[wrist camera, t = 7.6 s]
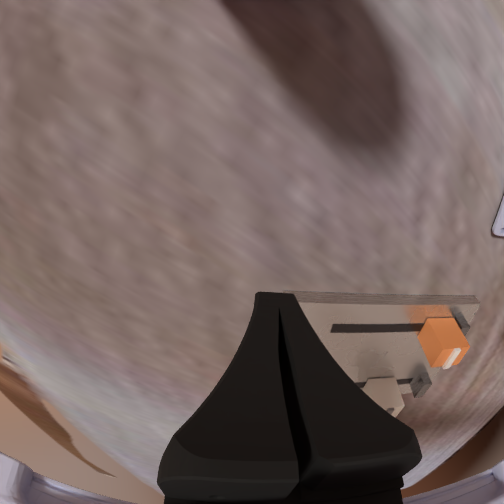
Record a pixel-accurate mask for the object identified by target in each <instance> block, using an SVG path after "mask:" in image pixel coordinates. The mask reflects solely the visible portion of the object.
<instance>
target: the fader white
mask: <svg viewBox="0 0 504 504" xmlns="http://www.w3.org/2000/svg"><path fill="white" fill-rule="evenodd" d="M362 390H363V391H364V392H365V393H366V394H367V395H368V396H369V397H370V398H371V399H372V400H373V401H374V402H376V403H377V404H378V405H379V406H380V407H382V408H383V409H384V410H385V411H387V412H388V413H389V414H391V415H392V416H393V417H396V416H397V415H398V414H399V412H400V411H401V410H402V409H403V408H404V406H405V405H404V402H403V399H402V396H401V393H400V390H399V387H398V384H397V381H396V378H395V377H391V378H378V379H368V381H367V382H366V384H365V386H364V387H363V389H362Z"/></svg>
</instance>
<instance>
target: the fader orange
mask: <svg viewBox="0 0 504 504" xmlns="http://www.w3.org/2000/svg"><path fill="white" fill-rule="evenodd" d="M417 338H418V340H419V342H420V344H421V346H422V349H423V351H424V353H425V355H426V358H427V360H428V362H429V364H430V367H431V368H433V367H443V369H448V368H449V367H450V366H451V365H457V364H458V363H459V362H460V361H461V359H462V358H463V356H464V355H465V353H466V352H467V350H468V349H469V347H470V346H469V344H468V342H467V340H466V338H465V337H464V335H463V333H462V331H461V330H460V328H459V326H458V324H457V323H456V321H455V319H454V318H429V319H427V320H426V322H425V324H424V326H423V328H422V329H421V331H420V333H419V335H418V337H417Z"/></svg>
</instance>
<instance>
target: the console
mask: <svg viewBox="0 0 504 504" xmlns="http://www.w3.org/2000/svg"><path fill="white" fill-rule="evenodd" d="M283 293H293V294H294V295H295V296H296V299H297V301H298V303H299V305H300V307H301V308H302V310H303V312H304V314H305V316H306V317H307V319H308V321H309V323H310V324H311V326H312V328H313V329H314V331H315V332H316V334H317V335H318V337H319V339H320V340H321V342H322V343H323V344H324V346H325V347H326V349H327V350H328V351H329V353H330V354H331V356H332V357H333V358H334V359H335V361H336V362H337V363H338V364H339V366H340V367H341V368H342V369H343V370H344V372H345V373H346V374H347V375H348V376H349V377H350V378H351V379H352V380H353V381H354V382H355V384H356V385H357V386H358V387H359V388H360V389H363V387H364V386H365V384H366V382H367V381H368V379H378V378H391V377H395V378H396V381H397V384H398V387H399V390H400V393H401V394H406V393H413V395H414V398H417V397H422V396H423V395H424V394H425V392H426V391H427V390H428V388H429V387H430V386H431V385H432V382H431V381H432V379H433V378H434V377H435V375H436V374H437V373H438V371H439V370H440V368H441V367H433V368H431V367H430V364H429V362H428V360H427V358H426V355H425V353H424V351H423V349H422V346H421V344H420V342H419V340H418V338H417V337H418V335H419V333H420V331H421V329H422V328H423V326H424V324H425V322H426V320H427V319H429V318H454V319H455V321H456V323H457V324H458V326H459V328H460V330H461V331H462V333H463V335H464V337H465V335H466V334H467V332H468V330H469V329H470V326H469V324H470V322H471V320H472V319H473V317H474V315H475V313H476V312H477V310H478V308H479V306H480V305H481V304H480V302H479V301H478V299H477V298H476V297H475V296H432V295H379V294H347V293H321V292H299V291H283Z"/></svg>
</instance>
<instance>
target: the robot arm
mask: <svg viewBox="0 0 504 504" xmlns="http://www.w3.org/2000/svg"><path fill="white" fill-rule="evenodd" d="M492 232H493V233H494V234H495V235H498V236H504V196H503V199H502V202H501V205H500V208H499V211H498V214H497V216H496V219H495V222H494V225H493V227H492ZM421 459H422V454H421V450H420V446H419V443H418V440H417V438H416V435H415V433H414V430H413V429H411V428H410V427H408V426H407V425H405V424H404V423H402V422H401V421H399V420H398V419H396V418H395V417H393V416H392V415H391V414H389V413H388V412H387V411H385V410H384V409H383V408H382V407H380V406H379V405H378V404H377V403H376V402H374V401H373V400H372V399H371V398H370V397H369V396H368V395H367V394H366V393H365V392H364V391H363V390H362V389H360V388H359V387H358V386H357V385H356V384H355V382H354V381H353V380H352V379H351V378H350V377H349V376H348V375H347V374H346V373H345V372H344V370H343V369H342V368H341V367H340V366H339V364H338V363H337V362H336V361H335V359H334V358H333V357H332V356H331V354H330V353H329V351H328V350H327V349H326V347H325V346H324V344H323V343H322V342H321V340H320V339H319V337H318V335H317V334H316V332H315V331H314V329H313V328H312V326H311V324H310V323H309V321H308V319H307V317H306V316H305V314H304V312H303V310H302V308H301V307H300V305H299V303H298V301H297V299H296V296H295V295H294V294H293V293H274V292H258V293H256V294H255V302H254V310H253V313H252V317H251V320H250V322H249V325H248V328H247V330H246V333H245V335H244V337H243V340H242V342H241V344H240V346H239V348H238V350H237V352H236V354H235V356H234V358H233V360H232V361H231V363H230V365H229V366H228V368H227V370H226V371H225V373H224V375H223V376H222V377H221V379H220V380H219V382H218V383H217V385H216V386H215V388H214V389H213V391H212V392H211V393H210V395H209V396H208V397H207V398H206V399H205V401H204V402H203V403H202V404H201V406H200V407H199V408H198V409H197V410H196V412H195V413H194V414H193V415H192V416H191V417H190V418H189V419H188V420H187V421H186V422H185V423H184V424H183V425H182V426H181V427H180V428H179V430H178V431H177V432H176V433H175V434H174V435H173V437H172V439H171V440H170V442H169V444H168V446H167V448H166V450H165V452H164V454H163V456H162V459H161V462H160V465H159V471H158V477H157V484H158V486H159V487H160V489H161V490H162V492H163V493H164V494H165V500H164V504H504V459H503V460H501V461H500V462H498V463H497V464H496V465H494V466H493V467H492V468H491V469H489V470H486V471H484V472H482V473H480V474H477V475H474V476H472V477H469V478H467V479H464V480H462V481H459V482H456V483H453V484H450V485H447V486H445V487H441V488H439V489H435V490H432V491H429V492H425V493H422V494H418V495H415V496H411V497H407V498H403V499H402V495H401V490H400V488H402V487H403V486H404V483H403V478H402V476H403V475H405V474H406V473H408V472H409V471H410V470H411V469H413V468H414V467H415V466H416V465H417V464H418V463H419V462H420V461H421ZM0 504H135V503H131V502H127V501H123V500H118V499H114V498H110V497H106V496H103V495H99V494H95V493H92V492H89V491H85V490H82V489H79V488H76V487H73V486H70V485H67V484H64V483H61V482H59V481H56V480H53V479H51V478H48V477H45V476H43V475H40V474H38V473H35V472H33V470H32V469H31V468H29V467H28V466H27V465H25V464H24V463H22V462H20V461H18V460H16V459H14V458H12V457H10V456H8V455H6V454H4V453H2V452H0Z"/></svg>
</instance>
